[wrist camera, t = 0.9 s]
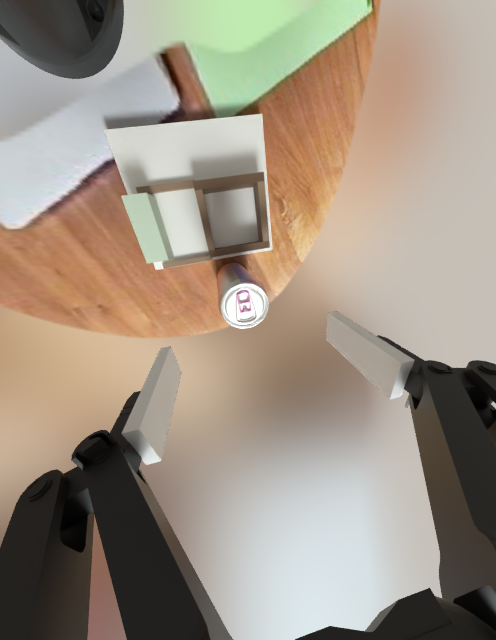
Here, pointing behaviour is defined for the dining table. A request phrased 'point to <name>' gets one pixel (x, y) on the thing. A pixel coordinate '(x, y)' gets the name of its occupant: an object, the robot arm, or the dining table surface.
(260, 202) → the socket
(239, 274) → the beverage can
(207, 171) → the board
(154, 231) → the block
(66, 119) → the dining table surface
